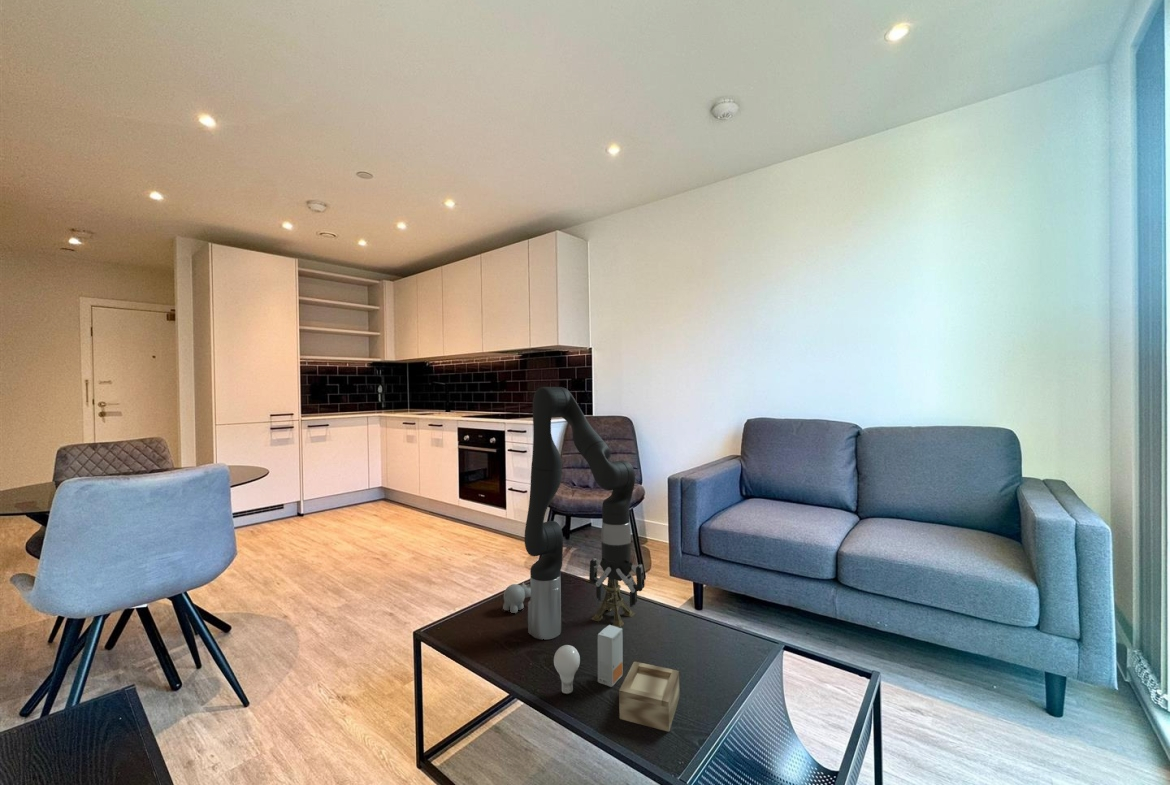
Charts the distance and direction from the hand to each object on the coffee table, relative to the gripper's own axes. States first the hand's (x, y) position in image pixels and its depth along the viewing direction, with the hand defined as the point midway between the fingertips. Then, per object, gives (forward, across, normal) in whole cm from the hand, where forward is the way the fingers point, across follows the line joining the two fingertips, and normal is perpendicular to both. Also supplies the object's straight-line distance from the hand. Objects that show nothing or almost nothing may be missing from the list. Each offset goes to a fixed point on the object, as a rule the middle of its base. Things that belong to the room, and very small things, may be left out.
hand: (616, 602), depth 115 cm
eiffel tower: (+19, -12, +30) cm, 38 cm away
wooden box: (+18, +11, -8) cm, 23 cm away
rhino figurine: (+19, -44, +24) cm, 54 cm away
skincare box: (+19, -1, -2) cm, 19 cm away
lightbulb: (+19, -9, -11) cm, 23 cm away
